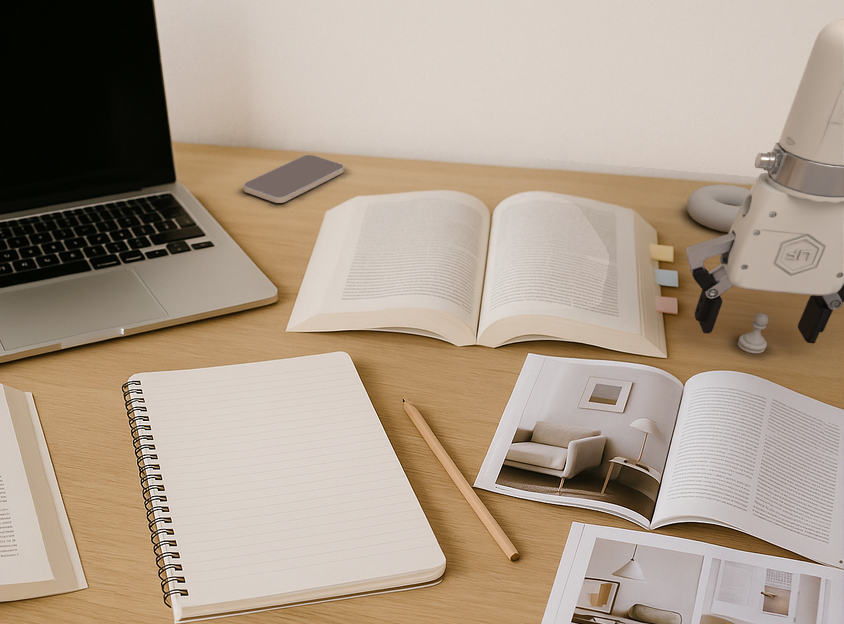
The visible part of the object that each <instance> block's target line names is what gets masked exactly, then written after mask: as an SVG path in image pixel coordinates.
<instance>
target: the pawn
mask: <svg viewBox="0 0 844 624" xmlns="http://www.w3.org/2000/svg"><path fill="white" fill-rule="evenodd" d="M753 320H754V321H753V322H752V324H751V325H752V327H753V330H751V332H747V333H745V334H742V335H741V336H739V338H738V342H737V346H738V347H739V348H740V350H742V351H744V352H746V353H748V354H754V355H755V354H762V353H764V352H765V350H766V348H767V347H768V342H767V341H766V340H765V339H764V337H763V336H762V330H765V329H766V328H767V324H768V323H769V321H770V320H769V316H768V314H767V313H763V312H760V313H757V314H756V315H755V316H754V319H753Z"/></svg>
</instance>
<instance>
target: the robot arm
mask: <svg viewBox="0 0 844 624" xmlns="http://www.w3.org/2000/svg"><path fill="white" fill-rule="evenodd" d="M754 166H755V169H763V171H766V172H761V173H760V174H759V176H758V177H757V178H756V180H755V181H754V183H753V184H752V186H751V188H750V189H749V190H750V191H749V193H748V194H747V196H746V198H745V200H744V202H743V203H742V205H741V207H740V209H739V211H738V213H737V215H736V217H735V220H734V222H733V224H732V226H731V229H730V231H729V233H728V232H727V234H723V235H720V236H718V237H714V238H711V239H707V240H705V241H701V242H698V243H695V244H692V245H689V246H687V247H686V248H685V249H684V252H685V257H686V260H687V263H688V267H689V271H690V273H691V276H692V278H693V279H694V281H695V282H696V284H697V285H698V286H699V287H700V288H701V293H700V294H699V297H698V301H697V304H696V306H695V310H694V318H695V321H697V322H698V324H699V326H700V329H701V331H702V333H703V334H710V333H712V332H713V331H714V328H715V326H716V322H717V319H718V317H719V313H720V310H721V308H722V305H723V298H722V296H721V295H723V294H724V293H725V292H727V291H729V290H731V289H732V288H734V287H736V288H739V289H742V290H746V291H747V290H748V291H758V292H769V293H778V294H779V293H780V294H789V295H802V296H809V298H808V300H807V302H806V305H805V307H804V310H803V311H802V314H801V317H800V318H799V321H798V323H797V329H798V331H799V333H800V334H801V336H802V338H803V339H804V342H806V343H807V344H812V345H813V344H815V343H816V341H817V339H818V337H819V335H820V333H823V332H824V331H825V329H826V326H827V324H828V322H829V320H830V318H831V316H832V314H833V311H834V310H839V309H840V308H841V307H842V306H843V305H844V304H843V303H844V18H841V19H837V20H834V21H831V22H830V23H828V24H826V25H825V26H824V27H823V28H822V29H821V30H820V31H819V33H818V34H817V36H816V39H815V40H814V43H813V46H812V48H811V51H810V54H809V56H808V59H807V62H806V64H805V67H804V71H803V73H802V75H801V78H800V81H799V84H798V87H797V90H796V92H795V95H794V98H793V101H792V103H791V105H790V109H789V112H788V115H787V117H786V120H785V123H784V126H783V128H782V131H781V134H780V137H779V140H778V142H775V144H774V146H773V149H772V150H771V151H767V152H766V153H764V152H758V154H757V155H756V157H755V160H754ZM719 255H720V257H719V261H720V264H719V265H716V266H715V267H714V268H711V270H710V271H708V270H707V269H706V267H705V261H706V260H708V259H710V258H714V257H717V256H719Z"/></svg>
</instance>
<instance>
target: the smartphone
mask: <svg viewBox="0 0 844 624" xmlns="http://www.w3.org/2000/svg"><path fill="white" fill-rule="evenodd" d="M344 172H345V165H344V164H342V163H341V162H340V163H339V162H336V161H333V160H330V159H327V158H325V157H320V156H317V155H313V154H305V155H302V156H299V157H298V158H296V159H294V160H291V161H288V162H287V163H284V164H282V165H280V166H278V167H276V168H274V169H271V170H269V171H267V172H265V173H263V174H261V175H258V176H256V177H254V178H252V179H250V180H248V181H246V182H244V183H243V185H242V186H243V187H242V188H243V192H245V193H247V194H250V195H252V196H256V197H259V198H261V199H264V200H265V201H269V202H272V203H276V204H283V203H286V202H288V201H290V200H291V199H294V198H296V197H297V196H300V195H302V194H304V193H306V192H309V190H312V189H314V188H316V187H319V186H320V185H321V184H324V183H325V182H328V181H330V180H331V179H333V178H335V177H337V176H339V175H341V174H343V173H344Z"/></svg>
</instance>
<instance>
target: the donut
mask: <svg viewBox="0 0 844 624" xmlns="http://www.w3.org/2000/svg"><path fill="white" fill-rule="evenodd" d="M749 191H750V189H749V188H746V187H743V186H739V185H734V184H733V185H732V184H720V183H719V184H707V185H704V186H702V187H699V188H697V189H695V190H694V191H693V192H692V193H691V194H690V195H689V196H688V198H687V202H686V210H687V213H688V215H689V216H690V217H691V219H692V220H693V221H695V222H696V223H698V224H699V225H701V226H704V227H705V228H708V229H711V230H715V231H718V232H721V233H727V234H728V233H729V231H730V229H731V226H732V224H733V222H734V220H735V217H736V215H737V213H738V211H739V209H740V207H741V205H742V203H743V202H744V200H745V198H746V196H747V194H748V193H749Z"/></svg>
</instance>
